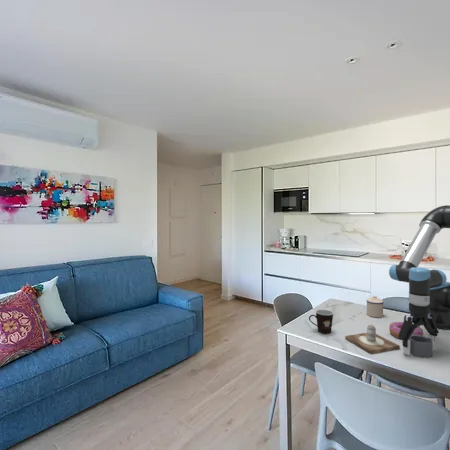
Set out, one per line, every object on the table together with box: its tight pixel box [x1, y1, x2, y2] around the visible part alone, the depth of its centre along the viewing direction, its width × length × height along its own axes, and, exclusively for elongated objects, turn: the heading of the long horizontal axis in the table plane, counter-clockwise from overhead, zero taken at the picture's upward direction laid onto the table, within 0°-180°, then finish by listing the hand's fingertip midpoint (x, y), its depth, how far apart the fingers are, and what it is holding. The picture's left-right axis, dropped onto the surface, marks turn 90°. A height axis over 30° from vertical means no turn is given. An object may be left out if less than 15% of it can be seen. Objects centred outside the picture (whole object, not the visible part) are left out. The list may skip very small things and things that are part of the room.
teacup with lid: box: [365, 295, 385, 319], centre depth 171 cm, size 12×9×12 cm
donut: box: [389, 321, 424, 340], centre depth 141 cm, size 14×14×5 cm
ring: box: [406, 334, 433, 359], centre depth 124 cm, size 9×9×6 cm
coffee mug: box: [308, 309, 334, 335], centre depth 148 cm, size 12×9×10 cm
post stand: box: [344, 324, 401, 355], centre depth 133 cm, size 16×16×9 cm
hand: (418, 351), depth 124 cm, fingers open, 13 cm apart
